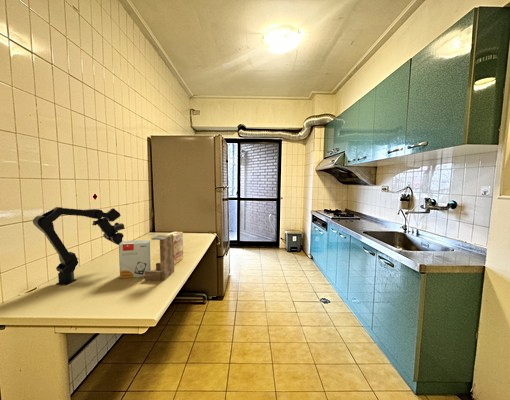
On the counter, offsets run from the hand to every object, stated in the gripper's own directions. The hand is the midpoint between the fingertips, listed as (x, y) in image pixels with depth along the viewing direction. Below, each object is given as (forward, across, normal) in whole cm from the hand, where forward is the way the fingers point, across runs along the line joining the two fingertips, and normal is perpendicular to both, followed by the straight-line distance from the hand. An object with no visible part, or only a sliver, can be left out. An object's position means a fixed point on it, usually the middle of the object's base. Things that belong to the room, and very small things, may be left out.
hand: (121, 245), depth 155 cm
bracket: (+17, -33, -1) cm, 37 cm away
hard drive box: (+12, -21, +7) cm, 26 cm away
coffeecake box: (+26, -16, -16) cm, 35 cm away
